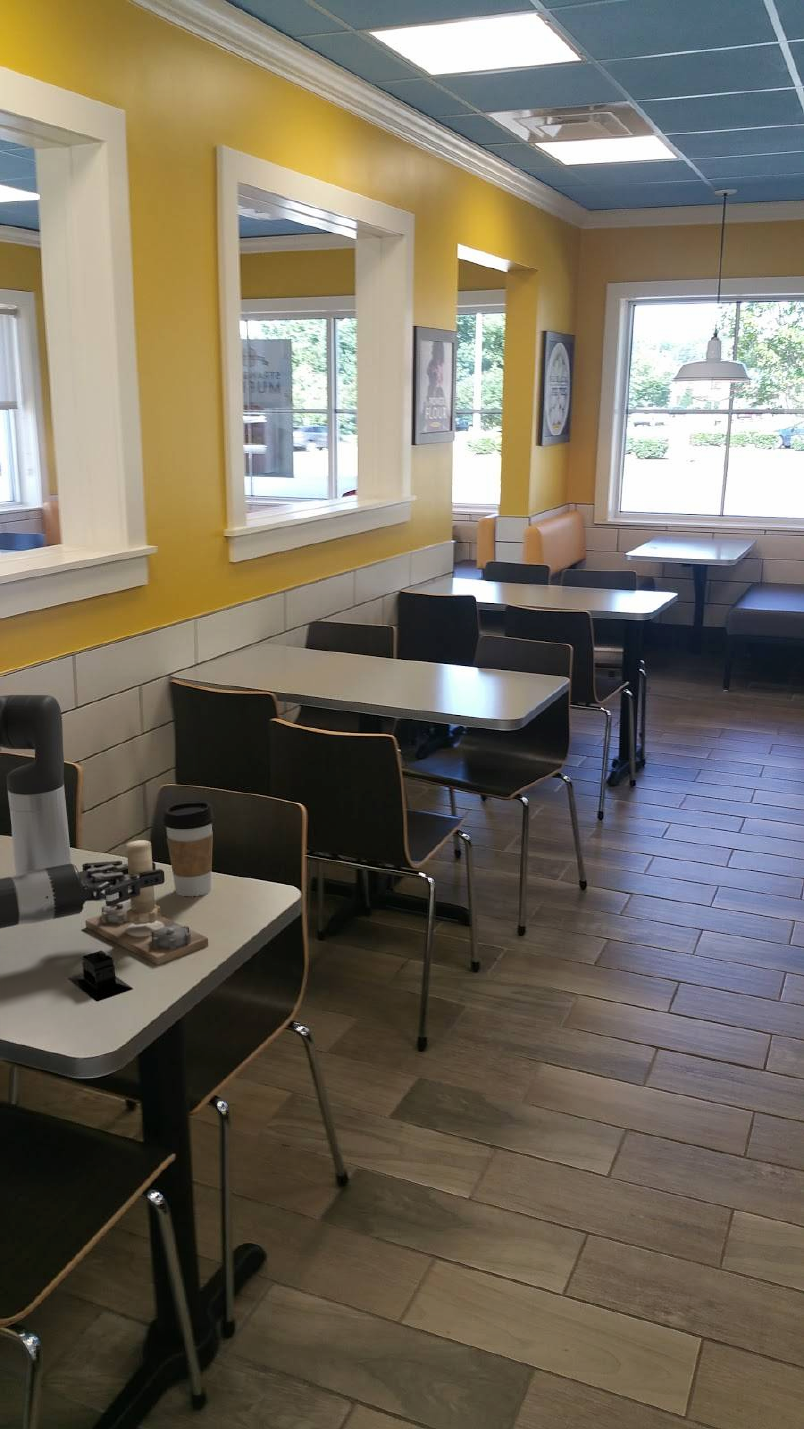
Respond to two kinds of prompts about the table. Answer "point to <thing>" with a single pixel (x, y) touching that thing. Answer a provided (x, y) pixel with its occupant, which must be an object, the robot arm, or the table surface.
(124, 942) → the gear board
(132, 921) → the spindle gear
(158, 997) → the table surface
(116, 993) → the black block stand
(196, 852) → the coffee cup
